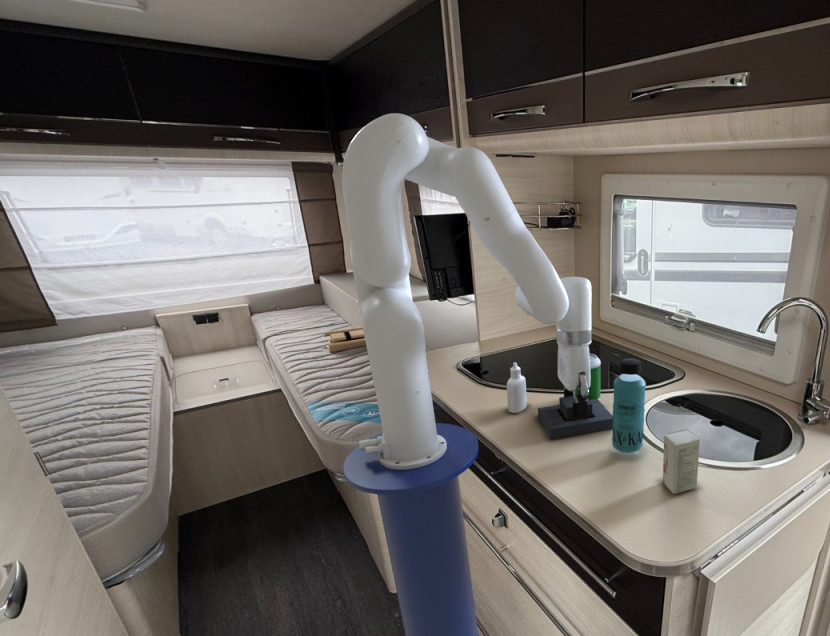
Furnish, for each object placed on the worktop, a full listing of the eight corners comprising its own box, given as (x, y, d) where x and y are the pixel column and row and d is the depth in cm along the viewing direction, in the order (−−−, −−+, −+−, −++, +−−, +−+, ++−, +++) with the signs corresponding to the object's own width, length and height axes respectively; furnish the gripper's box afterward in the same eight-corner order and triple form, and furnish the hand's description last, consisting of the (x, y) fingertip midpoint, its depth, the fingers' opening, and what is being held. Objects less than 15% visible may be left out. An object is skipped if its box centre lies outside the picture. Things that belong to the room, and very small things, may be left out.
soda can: (605, 398, 121) (605, 354, 116) (592, 410, 114) (592, 364, 110) (579, 393, 124) (578, 350, 119) (565, 404, 117) (564, 359, 113)
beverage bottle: (610, 444, 99) (611, 355, 92) (641, 443, 100) (644, 354, 93) (612, 460, 93) (614, 366, 86) (645, 459, 94) (650, 366, 86)
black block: (567, 420, 104) (566, 408, 103) (559, 409, 109) (559, 397, 108) (592, 415, 106) (592, 404, 105) (583, 405, 111) (583, 393, 110)
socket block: (550, 439, 101) (550, 429, 100) (538, 417, 111) (537, 407, 110) (614, 427, 106) (614, 418, 105) (597, 407, 116) (597, 398, 115)
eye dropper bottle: (503, 408, 115) (499, 363, 111) (523, 402, 118) (520, 358, 114) (512, 414, 112) (508, 368, 108) (532, 408, 115) (529, 363, 111)
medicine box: (684, 475, 88) (688, 428, 85) (697, 488, 85) (702, 439, 81) (660, 481, 87) (663, 433, 83) (672, 495, 83) (676, 445, 79)
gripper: (546, 327, 107) (549, 398, 114) (569, 349, 92) (571, 430, 99) (577, 323, 110) (578, 394, 116) (604, 345, 95) (604, 424, 101)
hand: (575, 410), depth 107 cm, fingers closed on black block, 6 cm apart
